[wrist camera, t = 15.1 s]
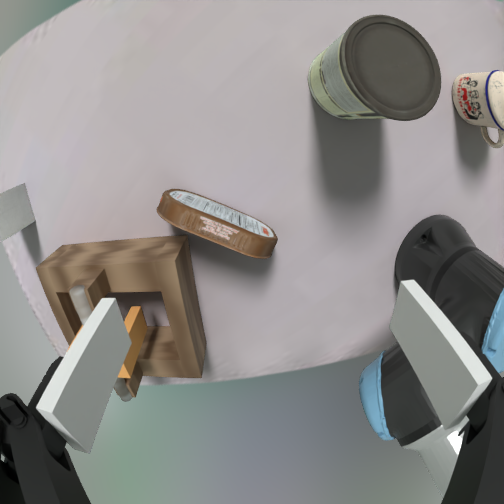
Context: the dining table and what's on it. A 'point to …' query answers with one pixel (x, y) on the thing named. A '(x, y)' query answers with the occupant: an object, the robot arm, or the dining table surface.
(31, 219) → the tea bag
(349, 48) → the coffee can
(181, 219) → the tin
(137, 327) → the orange u-shaped bracket
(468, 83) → the teacup with lid
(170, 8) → the dining table surface
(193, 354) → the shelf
